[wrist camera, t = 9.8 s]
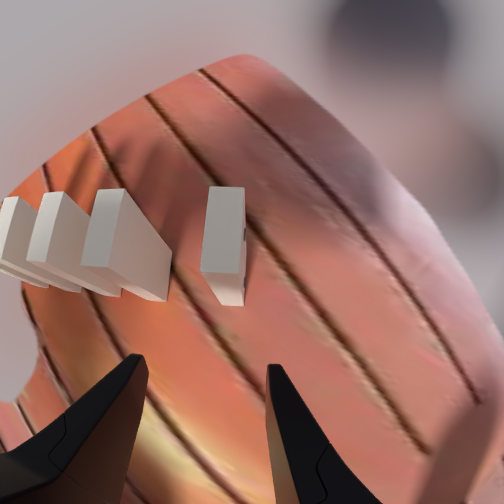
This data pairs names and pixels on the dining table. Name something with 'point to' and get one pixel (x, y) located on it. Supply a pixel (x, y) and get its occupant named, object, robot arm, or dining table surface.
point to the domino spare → (225, 244)
